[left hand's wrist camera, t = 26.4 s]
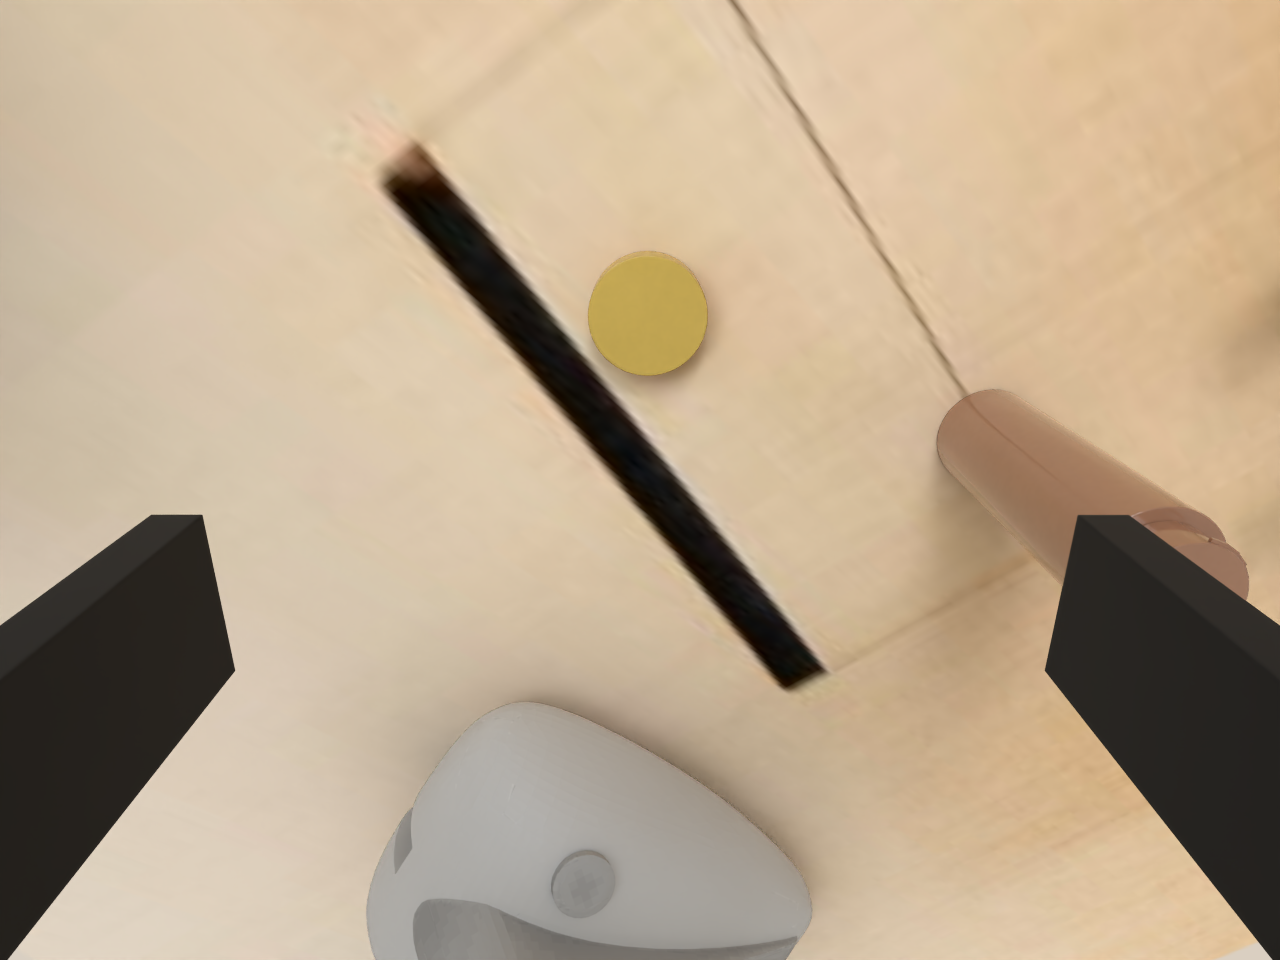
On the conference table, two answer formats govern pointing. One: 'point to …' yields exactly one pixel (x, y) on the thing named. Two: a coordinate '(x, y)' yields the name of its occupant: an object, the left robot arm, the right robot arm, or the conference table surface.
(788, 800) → the conference table surface
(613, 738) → the projector
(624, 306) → the lid
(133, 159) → the conference table surface
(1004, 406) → the jar
